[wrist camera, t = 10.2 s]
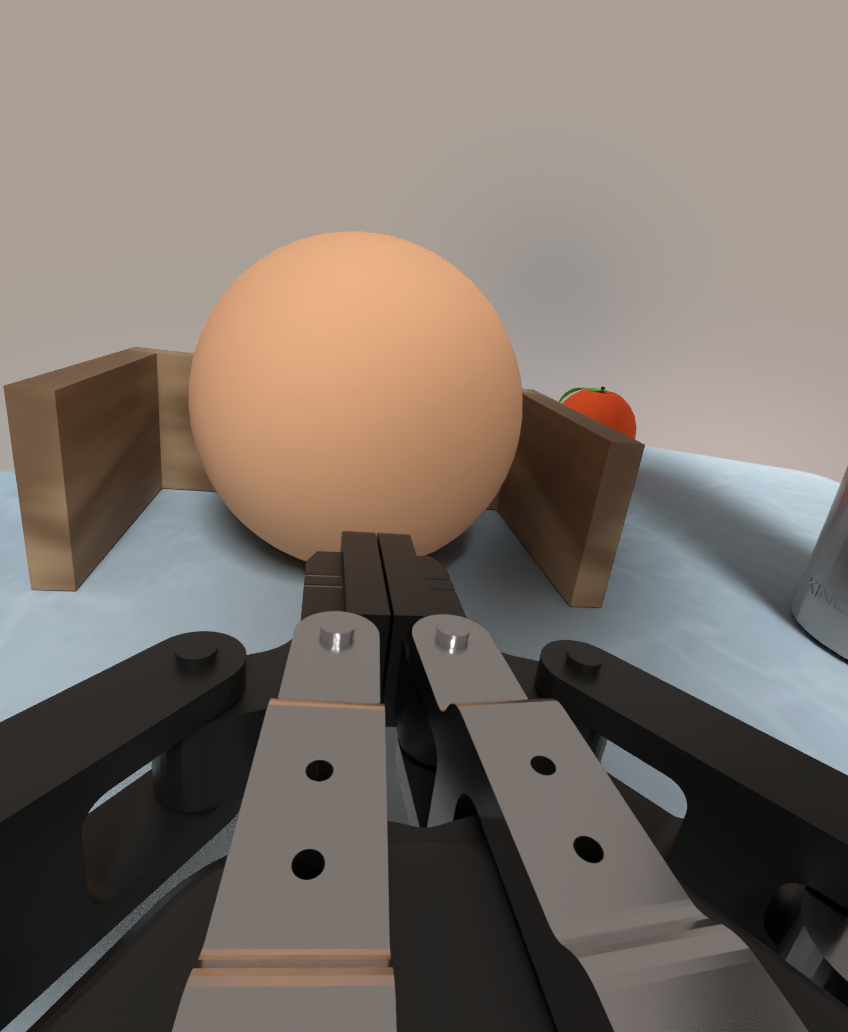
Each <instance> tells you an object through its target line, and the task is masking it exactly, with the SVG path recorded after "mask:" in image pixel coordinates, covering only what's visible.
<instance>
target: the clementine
mask: <svg viewBox="0 0 848 1032" xmlns="http://www.w3.org/2000/svg"><path fill="white" fill-rule="evenodd" d="M581 389H585V390H581ZM604 389H605V387H601V389H596V388H574V389H572V390H569V391H568V392H566V393H565V394H564V395H563V396H562V397H561V399H560V400H559V403H560V402H561V401H562V399H563V398H564V397H566V396H567V395H569V394H570V393H572V392H575V391H577V390H581V391H580V392H577V393H575V394H574V395H571V396H570V397H569V398H567V399H566V400H565V401H564V402H563V403H562V404H563V405H565V406H567V407H569V408H571V409H573V410H575V411H577V412H580V413H582V414H584V415H586V416H588V417H590V418H592V419H594V420H596V421H598V422H600V423H602V424H604V425H606V426H608V427H610V428H612V429H614V430H616V431H618V432H620V433H622V434H624V435H626V436H628V437H630V438H632V439H634V440H635V434H636V422H635V417H634V414H633V412H632V410H631V408H630V406H629V405H628V403H627V402H626V401H625V400H624V399H623V398H622V397H621V396H620V395H618V394H616V393H613V392H608V391H606V390H604Z"/></svg>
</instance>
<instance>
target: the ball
mask: <svg viewBox="0 0 848 1032" xmlns="http://www.w3.org/2000/svg"><path fill="white" fill-rule="evenodd" d="M522 399H523V397H522V387H521V378H520V373H519V368H518V364H517V360H516V356H515V353H514V350H513V347H512V345H511V342H510V339H509V337H508V334H507V332H506V330H505V328H504V326H503V324H502V323H501V321H500V319H499V317H498V315H497V313H496V312H495V310H494V309H493V307H492V306H491V305H490V303H489V302H488V300H487V299H486V297H485V296H484V295H483V294H482V293H481V291H480V290H479V289H478V288H477V287H476V286H475V285H474V284H473V283H472V282H471V280H470V279H469V278H467V277H466V276H465V275H464V274H463V273H462V272H460V271H459V270H458V269H457V268H456V267H454V266H453V265H452V264H450V263H449V262H447V261H446V260H444V259H443V258H441V257H440V256H438V255H436V254H435V253H433V252H431V251H429V250H427V249H425V248H423V247H421V246H419V245H416V244H414V243H412V242H409V241H406V240H403V239H399V238H396V237H393V236H389V235H383V234H377V233H371V232H352V231H351V232H350V231H343V232H335V233H326V234H320V235H316V236H312V237H308V238H304V239H301V240H298V241H295V242H293V243H291V244H288V245H286V246H284V247H281V248H279V249H277V250H275V251H273V252H272V253H270V254H269V255H267V256H265V257H264V258H262V259H260V260H259V261H257V262H256V263H255V264H253V265H252V266H251V267H250V268H249V269H247V270H246V271H245V272H244V273H243V274H242V275H240V276H239V277H238V278H237V279H236V281H235V282H234V283H233V284H232V285H231V286H230V287H229V288H228V289H227V291H226V292H225V293H224V294H223V295H222V297H221V298H220V300H219V301H218V303H217V304H216V306H215V307H214V309H213V310H212V312H211V313H210V315H209V317H208V319H207V321H206V324H205V326H204V328H203V330H202V332H201V334H200V337H199V340H198V343H197V346H196V349H195V352H194V356H193V360H192V366H191V372H190V378H189V400H188V406H189V415H190V424H191V430H192V434H193V438H194V442H195V446H196V450H197V452H198V455H199V458H200V460H201V463H202V465H203V468H204V470H205V472H206V474H207V476H208V478H209V480H210V481H211V483H212V485H213V487H214V489H215V490H216V492H217V493H218V495H219V496H220V497H221V499H222V500H223V501H224V503H225V504H226V505H227V507H228V508H229V509H230V510H231V511H232V513H233V514H234V515H235V516H236V517H237V518H238V519H239V520H240V521H241V522H242V523H243V524H244V525H245V526H246V527H248V528H249V529H250V530H251V531H252V532H254V533H255V534H256V535H257V536H259V537H260V538H261V539H263V540H264V541H266V542H267V543H269V544H271V545H272V546H274V547H276V548H277V549H279V550H281V551H283V552H285V553H287V554H289V555H292V556H294V557H296V558H298V559H301V560H304V561H307V560H308V559H309V558H310V557H311V556H312V555H313V554H314V553H316V552H317V551H327V552H340V547H341V536H342V531H356V532H374V533H375V534H376V535H377V533H393V534H410V536H411V539H412V542H413V545H414V548H415V551H416V554H417V556H426V555H428V554H430V553H432V552H434V551H436V550H438V549H440V548H441V547H443V546H445V545H446V544H448V543H449V542H451V541H452V540H454V539H455V538H457V537H458V536H459V535H460V534H462V533H463V532H464V531H465V530H466V529H468V528H469V527H470V526H471V525H472V524H473V523H474V522H475V521H476V520H477V519H478V518H479V517H480V516H481V514H482V513H483V512H484V511H485V510H486V509H487V507H488V506H489V504H490V503H491V502H492V500H493V499H494V498H495V496H496V495H497V493H498V491H499V490H500V488H501V486H502V484H503V482H504V480H505V479H506V477H507V474H508V472H509V469H510V467H511V464H512V462H513V460H514V457H515V453H516V449H517V445H518V442H519V437H520V430H521V423H522Z"/></svg>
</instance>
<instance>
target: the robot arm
mask: <svg viewBox="0 0 848 1032" xmlns="http://www.w3.org/2000/svg"><path fill="white" fill-rule="evenodd" d="M450 580H451V579H450V577H449V575H448V572H447V570H446V567H444V566H443V565H442V564H441V563H439V562H438V561H437V560H436V559H434V558H433V557H432V556H417V554H416V551H415V548H414V545H413V542H412V539H411V536H410V534H393V533H377V535H376V534H375V533H374V532H356V531H342V536H341V547H340V552H327V551H317V552H316V553H314V554H313V555H312V556H311V557H310V558H309V559H308V560H307V561H306V569H305V580H304V591H303V602H302V613H301V622H299V624H298V625H297V626H296V628H295V631H294V635H293V639H291V640H290V641H289V642H287V643H286V644H284V645H282V646H280V647H278V648H275V649H272V650H269V651H265V652H260V653H255V654H249V655H246V650H245V648H244V646H243V645H242V643H241V642H239V641H238V640H237V639H235V638H234V637H231V636H229V635H226V634H223V633H218V632H208V631H200V632H190V633H185V634H180V635H177V636H174V637H171V638H169V639H166V640H164V641H162V642H160V643H158V644H156V645H154V646H152V647H150V648H148V649H146V650H144V651H142V652H140V653H138V654H136V655H134V656H132V657H130V658H128V659H126V660H124V661H122V662H120V663H118V664H116V665H114V666H112V667H110V668H108V669H106V670H104V671H102V672H100V673H98V674H96V675H94V676H92V677H90V678H88V679H86V680H84V681H82V682H80V683H78V684H76V685H74V686H72V687H70V688H68V689H66V690H64V691H62V692H60V693H58V694H56V695H54V696H52V697H50V698H48V699H46V700H44V701H42V702H40V703H38V704H36V705H34V706H32V707H30V708H28V709H26V710H24V711H22V712H20V713H18V714H16V715H14V716H12V717H10V718H8V719H6V720H4V721H2V722H0V1031H1V1030H2V1029H4V1028H5V1027H6V1026H7V1025H8V1024H9V1023H10V1022H11V1021H12V1020H13V1019H14V1018H16V1017H17V1016H18V1015H19V1014H20V1013H21V1012H22V1011H23V1010H24V1009H25V1008H27V1007H28V1006H29V1005H30V1004H31V1003H32V1002H33V1001H34V1000H35V999H36V998H38V997H39V996H40V995H41V994H42V993H43V992H44V991H45V990H46V989H47V988H48V987H50V986H51V985H52V984H53V983H54V982H55V981H56V980H57V979H58V978H59V977H61V976H62V975H63V974H64V973H65V972H66V971H67V970H68V969H69V968H70V967H71V966H73V965H74V964H75V963H76V962H77V961H78V960H79V959H80V958H81V957H82V956H84V955H85V954H86V953H87V952H88V951H89V950H90V949H91V948H92V947H93V946H95V945H96V944H97V943H98V942H99V941H100V940H101V939H102V938H103V937H104V936H105V935H107V934H108V933H109V932H110V931H111V930H112V929H113V928H114V927H115V926H116V925H118V924H119V923H120V922H121V921H122V920H123V919H124V918H125V917H126V916H127V915H129V914H130V913H131V912H132V911H133V910H134V909H135V908H136V907H137V906H138V905H139V904H141V903H142V902H143V901H144V900H145V899H146V898H147V897H148V896H149V895H150V894H152V893H153V892H154V891H155V890H156V889H157V888H158V887H159V886H160V885H161V884H163V883H164V882H165V881H166V880H167V879H168V878H169V877H170V876H171V875H172V874H173V873H175V872H176V871H177V870H178V869H179V868H180V867H181V866H182V865H183V864H184V863H186V862H187V861H188V860H189V859H190V858H191V857H192V856H193V855H194V854H195V853H196V852H198V851H199V850H200V849H201V848H202V847H203V846H204V845H205V844H206V843H207V842H209V841H210V840H211V839H212V838H213V837H214V836H215V835H216V834H217V833H218V832H220V831H221V830H222V829H223V828H224V827H225V826H226V825H227V824H228V823H229V822H230V821H231V820H232V819H233V818H234V817H235V816H236V815H237V813H238V812H239V810H240V812H239V815H238V819H237V823H236V827H235V830H234V834H233V838H232V842H231V845H230V849H229V853H228V855H227V856H224V857H222V858H220V859H219V860H217V861H215V862H213V863H211V864H209V865H207V866H205V867H203V868H202V869H200V870H199V871H197V872H196V873H194V874H193V875H191V876H190V877H188V878H187V879H185V880H184V881H182V882H181V883H180V884H179V885H177V886H176V887H175V888H174V889H172V890H171V891H170V892H169V893H167V894H166V895H165V896H164V897H163V898H162V899H161V900H160V901H158V902H157V903H156V904H155V905H154V906H153V907H152V908H151V909H150V910H149V911H148V912H147V913H146V914H145V915H144V916H143V917H142V918H141V919H140V920H139V921H138V922H137V923H136V924H135V925H134V926H133V927H132V928H131V929H130V930H129V931H128V932H127V933H126V934H125V935H124V936H123V937H122V938H121V939H120V940H119V941H118V942H117V943H116V944H115V945H114V946H113V947H112V948H110V949H109V950H108V951H107V952H106V953H105V954H104V955H103V956H102V957H101V958H100V959H99V960H98V961H97V962H96V963H95V964H94V965H93V966H92V967H91V968H90V969H89V970H88V971H87V972H86V973H85V974H84V975H83V976H82V977H81V978H80V979H79V980H78V981H77V982H76V983H75V984H74V985H73V986H72V987H71V988H70V989H69V990H68V991H67V992H66V993H65V994H64V995H63V996H62V997H61V998H60V999H59V1000H58V1001H57V1002H56V1003H55V1004H54V1005H53V1006H52V1007H51V1008H50V1009H49V1010H48V1011H47V1012H46V1013H45V1014H44V1015H43V1016H42V1017H41V1018H40V1019H39V1020H37V1021H36V1022H35V1023H34V1024H33V1025H32V1026H31V1027H30V1028H29V1029H28V1030H27V1031H26V1032H848V775H846V774H844V773H842V772H840V771H838V770H836V769H834V768H832V767H830V766H828V765H826V764H824V763H822V762H820V761H818V760H816V759H814V758H812V757H811V756H809V755H807V754H805V753H803V752H801V751H799V750H797V749H795V748H793V747H791V746H789V745H787V744H785V743H783V742H781V741H779V740H777V739H775V738H774V737H772V736H770V735H768V734H766V733H764V732H762V731H760V730H758V729H756V728H754V727H752V726H750V725H748V724H746V723H744V722H742V721H740V720H738V719H736V718H735V717H733V716H731V715H729V714H727V713H725V712H723V711H721V710H719V709H717V708H715V707H713V706H711V705H709V704H707V703H705V702H703V701H701V700H699V699H697V698H696V697H694V696H692V695H690V694H688V693H686V692H684V691H682V690H680V689H678V688H676V687H674V686H672V685H670V684H668V683H666V682H664V681H662V680H660V679H658V678H657V677H655V676H653V675H651V674H649V673H647V672H645V671H643V670H641V669H639V668H637V667H635V666H633V665H631V664H629V663H627V662H625V661H623V660H621V659H620V658H618V657H616V656H614V655H612V654H610V653H608V652H606V651H604V650H602V649H600V648H598V647H595V646H593V645H590V644H587V643H583V642H579V641H572V640H559V641H554V642H551V643H549V644H547V645H546V646H544V647H543V649H542V651H541V655H540V659H539V661H534V660H530V659H525V658H520V657H516V656H512V655H508V654H505V653H502V652H500V650H499V649H498V647H497V645H496V644H495V642H494V640H493V639H492V637H491V635H490V634H489V632H488V631H487V630H486V629H485V628H484V627H482V626H481V625H480V624H478V623H476V622H474V621H472V620H470V619H467V618H466V616H465V613H464V611H463V608H462V606H461V604H460V601H459V599H458V596H457V594H456V592H455V589H454V587H453V584H452V582H450ZM792 613H793V615H794V617H795V619H796V620H797V621H798V622H799V623H800V625H801V626H802V627H803V628H804V629H805V630H806V631H807V632H808V633H810V634H811V635H812V636H813V637H814V638H816V639H817V640H818V641H819V642H821V643H822V644H824V645H825V646H827V647H828V648H830V649H831V650H833V651H834V652H836V653H838V654H839V655H841V656H842V657H844V658H846V659H848V467H847V469H846V472H845V474H844V477H843V479H842V482H841V484H840V487H839V489H838V492H837V494H836V496H835V499H834V501H833V504H832V506H831V509H830V511H829V514H828V516H827V519H826V521H825V523H824V526H823V528H822V531H821V533H820V535H819V538H818V540H817V543H816V545H815V548H814V550H813V553H812V555H811V558H810V560H809V562H808V565H807V567H806V570H805V572H804V575H803V577H802V580H801V582H800V585H799V587H798V590H797V592H796V595H795V597H794V600H793V602H792ZM385 727H397V733H398V738H397V745H396V753H395V765H396V770H397V774H398V778H399V783H400V787H401V791H402V796H403V800H404V804H405V808H406V813H407V817H408V821H409V825H405V824H400V823H395V822H389V821H387V786H386V735H385ZM607 739H608V740H609V741H611V742H613V743H614V744H616V745H618V746H619V747H621V748H622V749H624V750H626V751H627V752H629V753H631V754H632V755H634V756H635V757H637V758H639V759H640V760H642V761H644V762H645V763H647V764H648V765H650V766H652V767H653V768H655V769H657V770H658V771H660V772H661V773H663V774H665V775H666V776H668V777H669V778H671V779H672V780H673V781H674V782H675V783H676V784H677V785H678V786H679V787H680V788H681V790H682V791H683V793H684V795H685V797H686V800H687V812H686V815H685V818H684V819H682V818H678V817H675V816H673V815H671V814H670V813H668V812H667V811H665V810H664V809H662V808H661V807H659V806H658V805H656V804H654V803H653V802H651V801H650V800H648V799H647V798H645V797H644V796H642V795H641V794H639V793H638V792H636V791H635V790H633V789H632V788H630V787H628V786H627V785H625V784H624V783H622V782H621V781H619V780H618V779H616V778H615V777H613V776H612V775H610V774H609V773H607V772H606V771H605V770H604V769H603V767H602V766H601V764H600V763H601V759H602V756H603V753H604V749H605V746H606V743H607ZM151 761H152V769H151V770H150V771H148V772H147V773H145V774H144V775H143V776H141V777H140V778H138V779H137V780H136V781H134V782H133V783H131V784H130V785H128V786H127V787H126V788H124V789H123V790H121V791H120V792H118V793H117V794H116V795H114V796H113V797H111V798H110V799H109V800H107V801H106V802H104V803H103V804H101V805H100V806H99V807H97V808H96V809H94V810H93V811H92V812H90V813H89V811H90V809H91V808H92V807H93V805H94V804H95V803H96V802H97V801H98V800H99V798H101V797H102V796H103V795H104V794H105V793H106V792H107V791H109V790H110V789H112V788H113V787H114V786H116V785H117V784H119V783H120V782H122V781H123V780H125V779H126V778H128V777H129V776H130V775H132V774H133V773H135V772H136V771H138V770H139V769H141V768H142V767H143V766H145V765H146V764H148V763H149V762H151ZM88 813H89V814H88Z"/></svg>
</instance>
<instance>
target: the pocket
mask: <svg viewBox="0 0 848 1032" xmlns="http://www.w3.org/2000/svg"><path fill="white" fill-rule="evenodd" d="M193 356H194V353H185V352H177V351H167V350H158V349H149V348H139V347H134V348H130V349H126V350H123V351H120V352H117V353H113V354H110V355H106V356H103V357H99V358H96V359H93V360H89V361H86V362H82V363H80V364H76V365H73V366H69V367H66V368H63V369H59V370H55V371H53V372H49V373H45V374H42V375H39V376H35V377H32V378H29V379H25V380H22V381H19V382H15V383H12V384H8V385H5V386H4V393H5V401H6V408H7V415H8V423H9V430H10V437H11V444H12V452H13V459H14V466H15V474H16V481H17V488H18V496H19V503H20V510H21V517H22V525H23V532H24V539H25V547H26V554H27V561H28V569H29V576H30V583H31V589H33V590H65V591H76V590H77V589H78V587H79V586H80V585H81V584H82V583H83V581H84V580H85V579H86V578H87V577H88V576H89V574H90V573H91V572H92V571H93V570H94V568H95V567H96V566H97V565H98V564H99V562H100V561H101V560H102V559H103V558H104V557H105V555H106V554H107V553H108V552H109V551H110V549H111V548H112V547H113V546H114V545H115V543H116V542H117V541H118V540H119V539H120V538H121V536H122V535H123V534H124V533H125V532H126V530H127V529H128V528H129V527H130V526H131V524H132V523H133V522H134V521H135V520H136V519H137V517H138V516H139V515H140V514H141V513H142V511H143V510H144V509H145V508H146V507H147V505H148V504H149V503H150V502H151V501H152V500H153V498H154V497H155V496H156V495H157V494H158V492H159V491H160V490H161V489H162V488H169V489H185V490H200V491H216V490H215V489H214V487H213V485H212V483H211V481H210V480H209V478H208V476H207V474H206V472H205V470H204V468H203V465H202V463H201V460H200V458H199V455H198V452H197V450H196V446H195V442H194V438H193V434H192V430H191V424H190V415H189V406H188V400H189V378H190V372H191V366H192V360H193ZM522 397H523V399H522V423H521V430H520V437H519V442H518V445H517V449H516V453H515V457H514V460H513V462H512V464H511V467H510V469H509V472H508V474H507V477H506V479H505V480H504V482H503V484H502V486H501V488H500V490H499V491H498V493H497V495H496V496H495V498H494V499H493V500H492V502H491V503H490V504H489V506H488V507H487V509H495V510H497V511H498V512H499V513H500V515H501V516H502V517H503V519H504V520H505V521H506V523H507V524H508V525H509V527H510V528H511V529H512V530H513V532H514V533H515V534H516V536H517V537H518V538H519V540H520V541H521V542H522V544H523V545H524V546H525V548H526V549H527V550H528V552H529V553H530V554H531V555H532V557H533V558H534V559H535V561H536V562H537V563H538V565H539V566H540V567H541V569H542V570H543V571H544V573H545V574H546V575H547V577H548V578H549V579H550V581H551V582H552V583H553V584H554V586H555V587H556V588H557V590H558V591H559V592H560V594H561V595H562V596H563V598H564V599H565V600H566V602H567V603H568V604H569V606H573V607H602V603H603V599H604V596H605V592H606V588H607V584H608V581H609V577H610V573H611V570H612V566H613V562H614V558H615V555H616V551H617V547H618V544H619V540H620V536H621V532H622V529H623V525H624V521H625V518H626V514H627V510H628V506H629V503H630V499H631V495H632V492H633V488H634V484H635V480H636V477H637V473H638V469H639V466H640V462H641V458H642V454H643V451H644V447H645V445H644V444H642V443H640V442H638V441H636V440H634V439H632V438H630V437H628V436H626V435H624V434H622V433H620V432H618V431H616V430H614V429H612V428H610V427H608V426H606V425H604V424H602V423H600V422H598V421H596V420H594V419H592V418H590V417H588V416H586V415H584V414H582V413H580V412H577V411H575V410H573V409H571V408H569V407H567V406H565V405H563V404H561V403H559V402H557V401H555V400H553V399H551V398H549V397H547V396H545V395H543V394H540V393H539V392H537V391H535V390H530V389H522Z"/></svg>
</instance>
